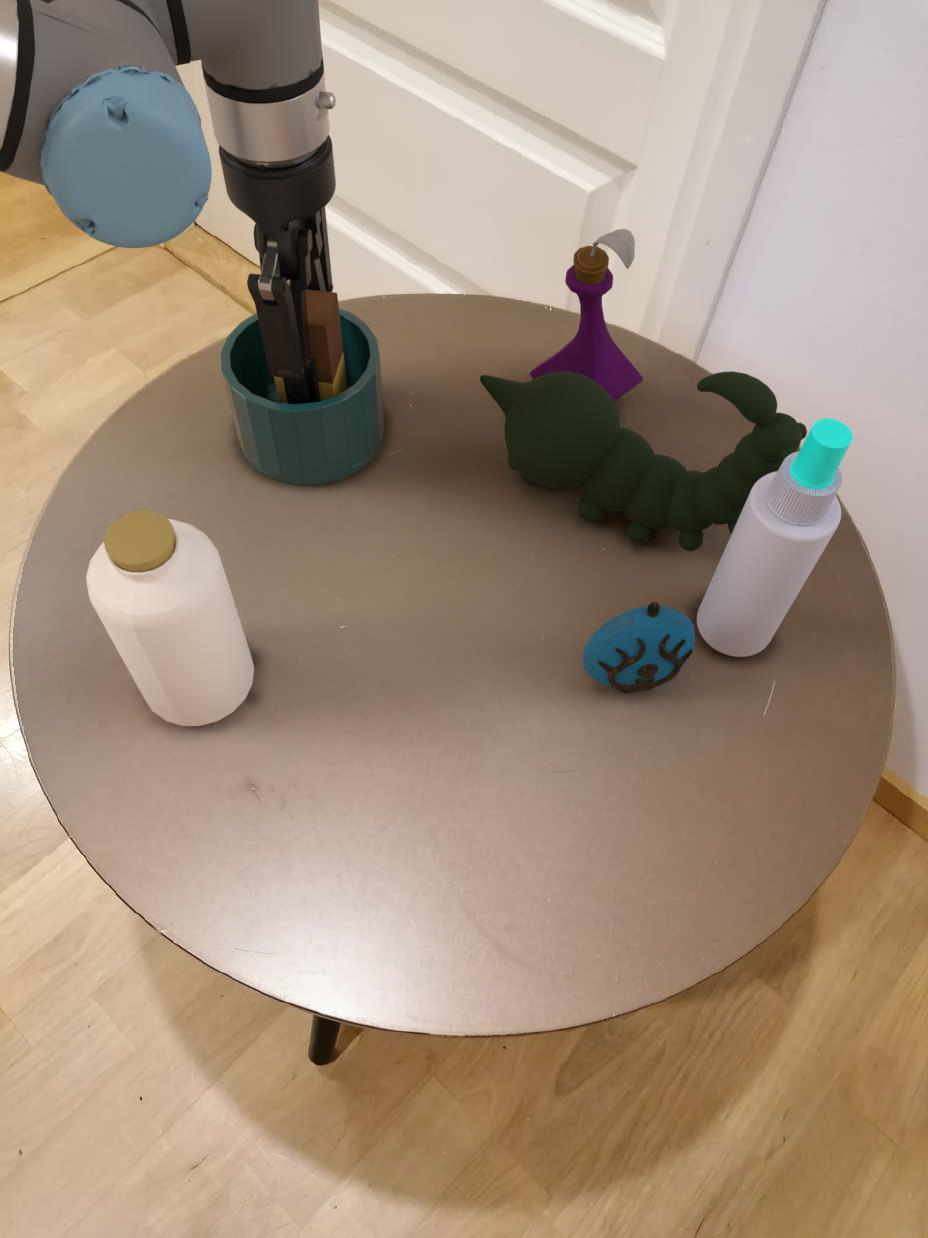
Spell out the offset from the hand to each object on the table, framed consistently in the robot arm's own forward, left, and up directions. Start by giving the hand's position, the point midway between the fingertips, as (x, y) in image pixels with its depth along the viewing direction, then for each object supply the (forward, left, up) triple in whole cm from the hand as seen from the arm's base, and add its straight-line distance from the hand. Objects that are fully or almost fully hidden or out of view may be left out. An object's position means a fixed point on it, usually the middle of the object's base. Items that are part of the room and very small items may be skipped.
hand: (312, 397), depth 82 cm
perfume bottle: (+23, +8, -4) cm, 25 cm away
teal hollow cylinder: (-1, 0, -4) cm, 4 cm away
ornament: (+29, -21, -4) cm, 36 cm away
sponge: (0, 0, -2) cm, 2 cm away
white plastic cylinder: (-3, -27, -4) cm, 27 cm away
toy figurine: (+27, -4, -4) cm, 27 cm away
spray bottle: (+37, -15, -4) cm, 41 cm away
